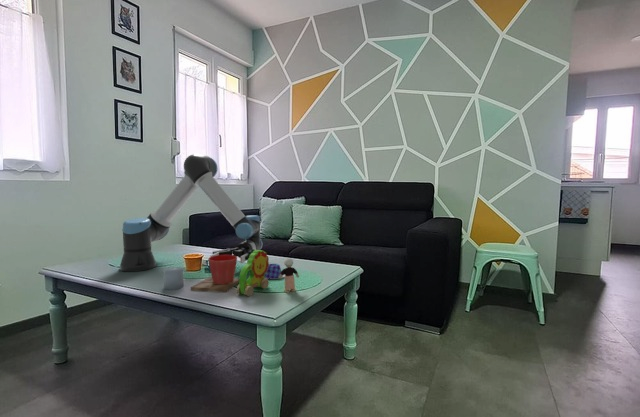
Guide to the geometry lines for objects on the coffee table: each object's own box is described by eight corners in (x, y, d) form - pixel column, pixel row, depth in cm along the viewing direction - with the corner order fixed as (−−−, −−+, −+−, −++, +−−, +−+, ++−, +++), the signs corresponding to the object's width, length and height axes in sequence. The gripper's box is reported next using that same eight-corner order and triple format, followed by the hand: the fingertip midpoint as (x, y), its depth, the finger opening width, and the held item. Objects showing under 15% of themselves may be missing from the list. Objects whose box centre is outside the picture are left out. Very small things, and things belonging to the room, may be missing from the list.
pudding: (291, 275, 148) (291, 263, 148) (277, 282, 137) (276, 269, 137) (269, 271, 153) (269, 260, 153) (253, 278, 142) (253, 266, 142)
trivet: (190, 290, 125) (190, 286, 125) (208, 279, 139) (208, 276, 139) (225, 292, 123) (225, 288, 123) (240, 281, 137) (240, 277, 137)
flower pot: (233, 285, 127) (233, 260, 126) (205, 285, 127) (204, 260, 126) (240, 277, 137) (239, 254, 137) (213, 277, 137) (213, 254, 136)
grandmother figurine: (295, 288, 128) (295, 256, 127) (300, 290, 125) (300, 258, 124) (277, 291, 124) (277, 258, 123) (281, 294, 121) (281, 260, 120)
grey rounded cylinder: (160, 289, 127) (159, 271, 126) (171, 283, 134) (170, 266, 133) (176, 290, 126) (176, 272, 125) (187, 284, 133) (186, 267, 132)
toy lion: (247, 298, 117) (247, 255, 116) (235, 295, 120) (234, 254, 118) (272, 285, 132) (272, 248, 130) (261, 283, 134) (260, 246, 133)
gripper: (270, 258, 159) (254, 269, 138) (221, 256, 163) (199, 266, 142) (270, 242, 158) (254, 251, 137) (221, 241, 162) (198, 249, 141)
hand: (226, 259), depth 139 cm, fingers open, 13 cm apart
